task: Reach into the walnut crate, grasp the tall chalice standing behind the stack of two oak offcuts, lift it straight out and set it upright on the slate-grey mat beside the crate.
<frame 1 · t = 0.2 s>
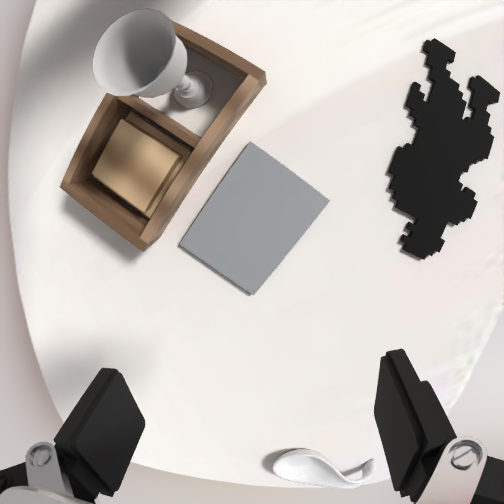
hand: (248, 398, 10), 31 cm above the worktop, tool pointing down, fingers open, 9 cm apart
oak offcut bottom: (146, 163, 39), on the worktop
slate mat: (252, 221, 40), on the worktop
chalice: (193, 89, 35), on the worktop
walnut crate: (164, 131, 37), on the worktop
spoon rest: (325, 458, 55), on the worktop
black silhouette cutout: (444, 151, 35), on the worktop
oak offcut top: (138, 164, 36), point 2 cm above the worktop
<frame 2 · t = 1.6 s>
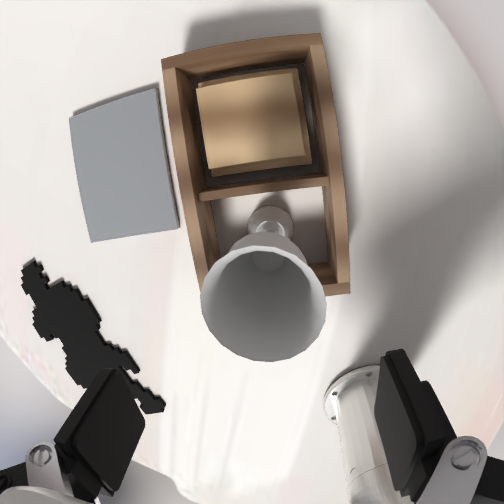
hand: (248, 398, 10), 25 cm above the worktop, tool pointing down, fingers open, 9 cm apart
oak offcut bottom: (256, 122, 31), on the worktop, touching oak offcut top
slate mat: (120, 168, 33), on the worktop
chalice: (270, 228, 34), on the worktop
walnut crate: (262, 169, 32), on the worktop
black silhouette cutout: (83, 344, 42), on the worktop
oak offcut top: (251, 121, 29), point 2 cm above the worktop, touching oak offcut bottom
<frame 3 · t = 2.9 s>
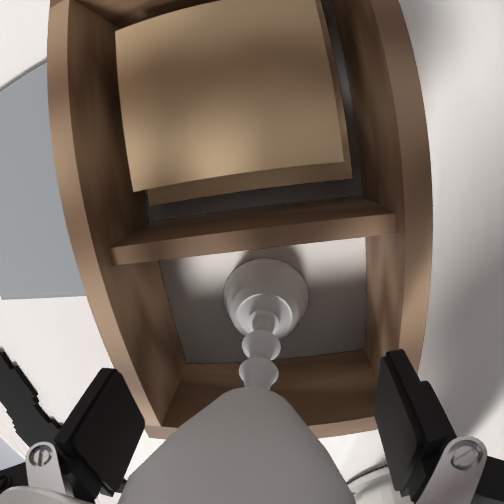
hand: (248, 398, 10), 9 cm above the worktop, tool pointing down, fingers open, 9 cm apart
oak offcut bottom: (238, 97, 15), on the worktop, touching oak offcut top
slate mat: (22, 189, 17), on the worktop
chalice: (265, 297, 18), on the worktop
walnut crate: (249, 187, 16), on the worktop
black silhouette cutout: (27, 412, 27), on the worktop
oak offcut top: (227, 89, 13), point 2 cm above the worktop, touching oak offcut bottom
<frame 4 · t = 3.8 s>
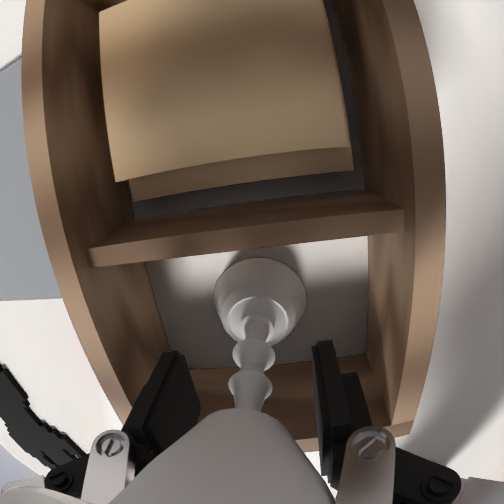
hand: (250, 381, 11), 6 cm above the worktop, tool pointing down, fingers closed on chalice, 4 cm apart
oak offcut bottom: (229, 83, 14), on the worktop, touching oak offcut top
slate mat: (5, 186, 16), on the worktop
chalice: (259, 299, 17), on the worktop, touching gripper
walnut crate: (241, 180, 15), on the worktop
black silhouette cutout: (19, 414, 25), on the worktop
oak offcut top: (218, 70, 12), point 2 cm above the worktop, touching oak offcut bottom
when the fingers open (9 cm above the worktop, at t = 12.1 s): chalice drops 1 cm, resting on slate mat.
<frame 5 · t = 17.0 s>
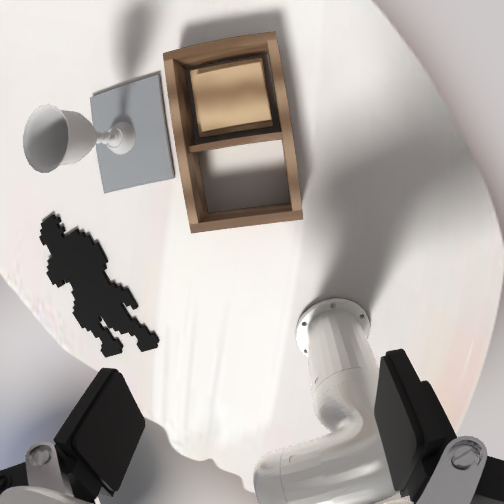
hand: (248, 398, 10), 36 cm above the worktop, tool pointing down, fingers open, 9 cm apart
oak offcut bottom: (232, 99, 40), on the worktop, touching oak offcut top
slate mat: (130, 134, 42), on the worktop
chalice: (121, 138, 42), point 1 cm above the worktop, touching slate mat
walnut crate: (236, 132, 41), on the worktop
black silhouette cutout: (90, 287, 52), on the worktop
oak offcut top: (232, 98, 38), point 2 cm above the worktop, touching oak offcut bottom
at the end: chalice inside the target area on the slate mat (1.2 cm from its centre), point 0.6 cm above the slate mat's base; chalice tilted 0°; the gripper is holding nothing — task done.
